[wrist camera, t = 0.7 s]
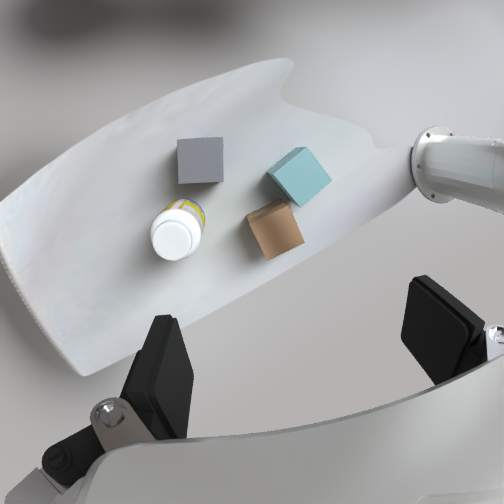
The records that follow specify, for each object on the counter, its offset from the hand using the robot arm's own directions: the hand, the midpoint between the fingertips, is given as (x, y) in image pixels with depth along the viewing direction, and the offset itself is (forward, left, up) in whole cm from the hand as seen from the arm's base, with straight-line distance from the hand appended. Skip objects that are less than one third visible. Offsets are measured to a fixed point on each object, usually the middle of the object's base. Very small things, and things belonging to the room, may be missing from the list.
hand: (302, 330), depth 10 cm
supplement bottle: (+8, 0, -28) cm, 29 cm away
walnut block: (-3, +3, -28) cm, 28 cm away
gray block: (+4, -7, -28) cm, 29 cm away
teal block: (-7, -3, -28) cm, 29 cm away
